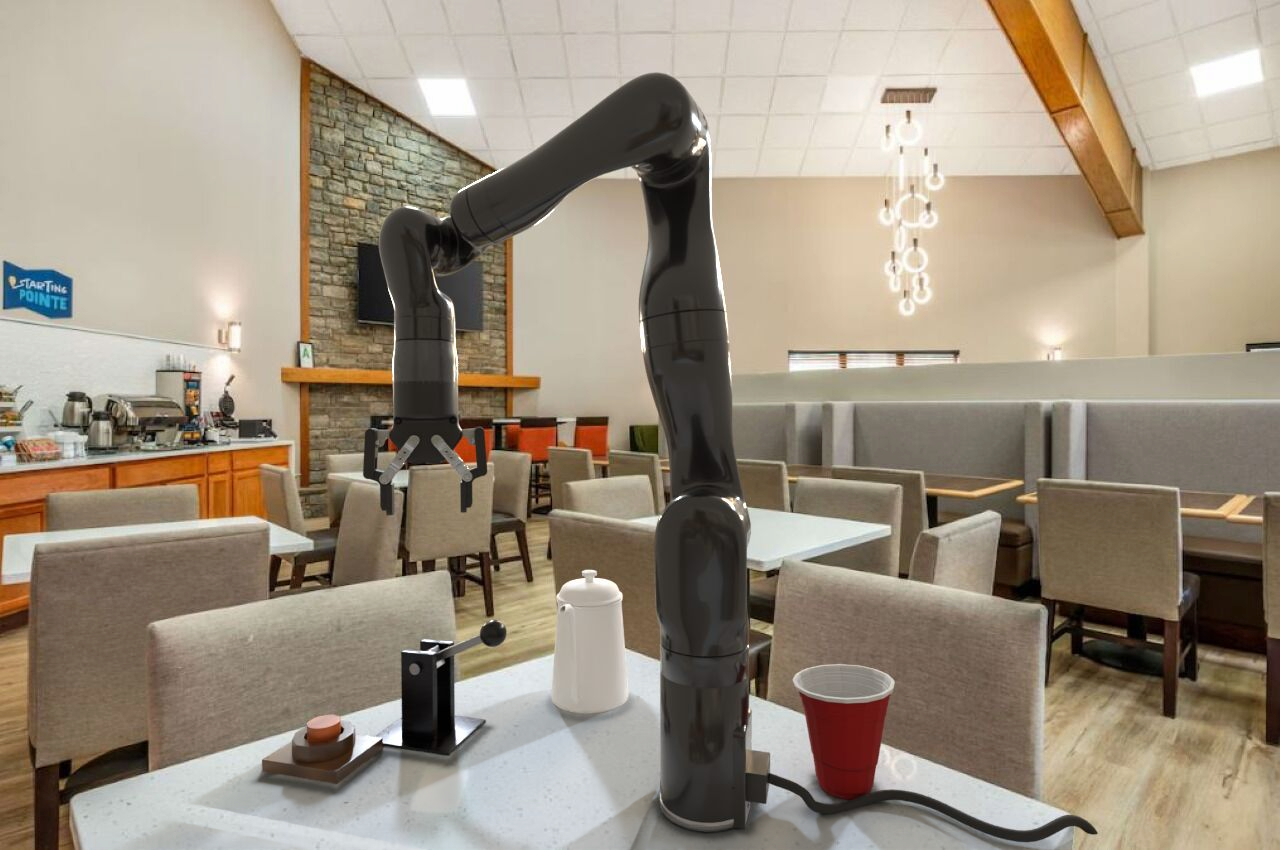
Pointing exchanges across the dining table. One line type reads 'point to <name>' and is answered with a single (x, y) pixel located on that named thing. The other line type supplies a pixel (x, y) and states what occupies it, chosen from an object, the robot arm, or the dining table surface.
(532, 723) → the dining table surface
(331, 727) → the warm button
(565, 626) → the coffeepot
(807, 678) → the plastic cup
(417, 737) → the lever base
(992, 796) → the dining table surface
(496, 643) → the lever
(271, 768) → the button base
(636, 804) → the dining table surface
